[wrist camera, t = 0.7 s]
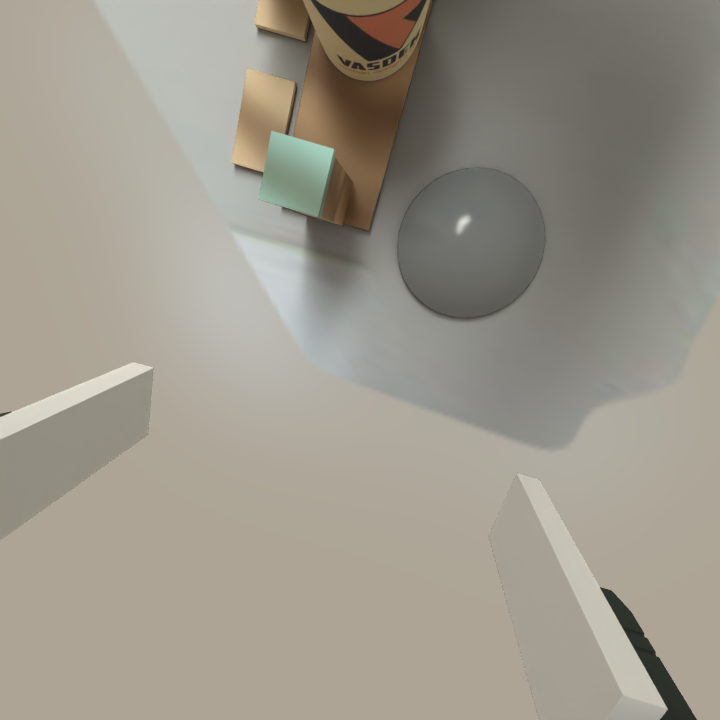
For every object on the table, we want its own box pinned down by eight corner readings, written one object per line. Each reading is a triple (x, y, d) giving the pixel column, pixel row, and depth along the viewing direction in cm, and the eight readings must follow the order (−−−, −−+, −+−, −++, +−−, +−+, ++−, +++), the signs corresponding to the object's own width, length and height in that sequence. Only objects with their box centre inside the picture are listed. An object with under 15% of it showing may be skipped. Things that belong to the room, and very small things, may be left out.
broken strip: (275, -85, 27) (211, -255, 18) (328, -71, 27) (289, -235, 18) (234, 163, 32) (166, 127, 23) (278, 177, 32) (228, 145, 23)
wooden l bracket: (337, -68, 27) (298, -253, 17) (443, -39, 27) (466, -211, 17) (280, 209, 33) (225, 189, 23) (367, 235, 32) (351, 226, 23)
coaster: (423, 150, 30) (423, 149, 30) (568, 192, 30) (570, 191, 30) (380, 294, 34) (380, 294, 33) (509, 333, 33) (510, 334, 33)
